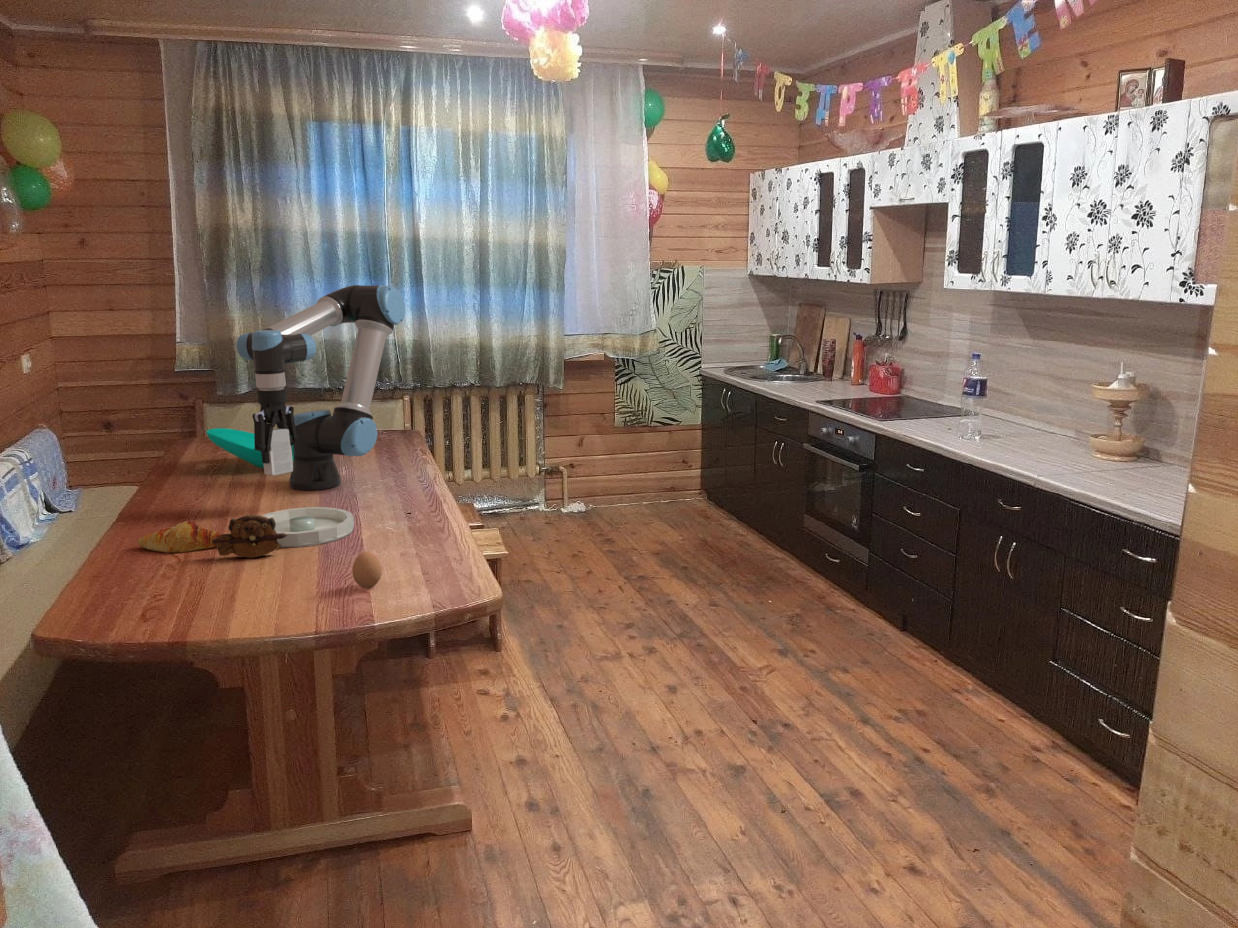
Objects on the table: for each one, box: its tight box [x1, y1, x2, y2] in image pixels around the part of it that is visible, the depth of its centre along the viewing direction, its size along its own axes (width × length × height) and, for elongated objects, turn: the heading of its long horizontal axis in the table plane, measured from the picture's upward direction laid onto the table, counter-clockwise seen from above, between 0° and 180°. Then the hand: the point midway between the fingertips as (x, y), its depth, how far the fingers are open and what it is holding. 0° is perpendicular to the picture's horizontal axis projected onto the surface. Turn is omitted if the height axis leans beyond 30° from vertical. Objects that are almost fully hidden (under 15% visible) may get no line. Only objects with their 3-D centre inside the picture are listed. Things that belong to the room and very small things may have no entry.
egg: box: [351, 551, 382, 589], centre depth 198 cm, size 6×6×8 cm
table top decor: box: [205, 427, 294, 469], centre depth 314 cm, size 40×28×13 cm
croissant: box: [137, 520, 223, 554], centre depth 225 cm, size 21×10×8 cm, turn 96°
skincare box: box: [265, 427, 293, 477], centre depth 255 cm, size 6×4×12 cm
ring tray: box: [260, 506, 355, 549], centre depth 238 cm, size 25×25×4 cm
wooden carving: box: [212, 513, 287, 559], centre depth 218 cm, size 16×5×10 cm, turn 105°
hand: (279, 471), depth 256 cm, fingers closed on skincare box, 7 cm apart
